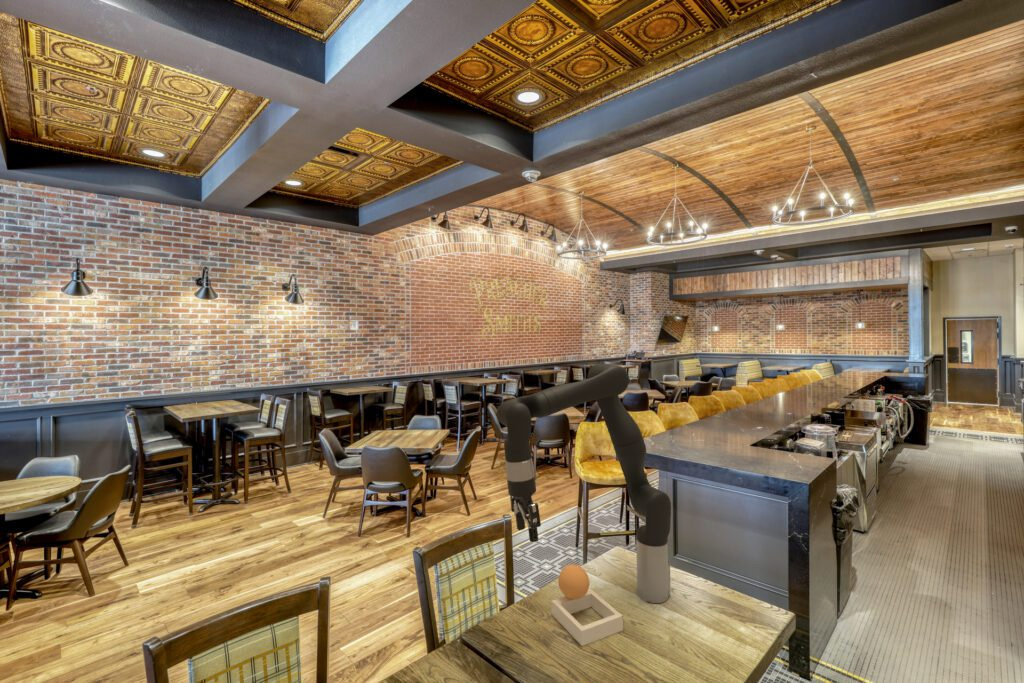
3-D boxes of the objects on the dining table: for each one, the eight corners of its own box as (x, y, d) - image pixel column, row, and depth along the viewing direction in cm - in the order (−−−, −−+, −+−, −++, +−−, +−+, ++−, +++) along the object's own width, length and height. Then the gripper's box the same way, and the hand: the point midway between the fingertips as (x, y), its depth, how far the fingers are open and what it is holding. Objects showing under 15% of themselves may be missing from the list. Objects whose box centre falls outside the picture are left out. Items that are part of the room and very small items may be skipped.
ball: (577, 585, 138) (577, 556, 138) (595, 600, 130) (595, 569, 130) (552, 593, 134) (552, 563, 134) (569, 609, 126) (569, 577, 126)
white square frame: (589, 601, 136) (589, 588, 136) (622, 630, 123) (622, 615, 123) (551, 614, 130) (551, 600, 130) (582, 646, 117) (581, 631, 117)
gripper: (544, 479, 115) (551, 541, 116) (522, 466, 128) (529, 522, 129) (517, 486, 112) (525, 549, 113) (498, 472, 126) (505, 529, 126)
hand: (527, 535), depth 121 cm, fingers open, 8 cm apart
